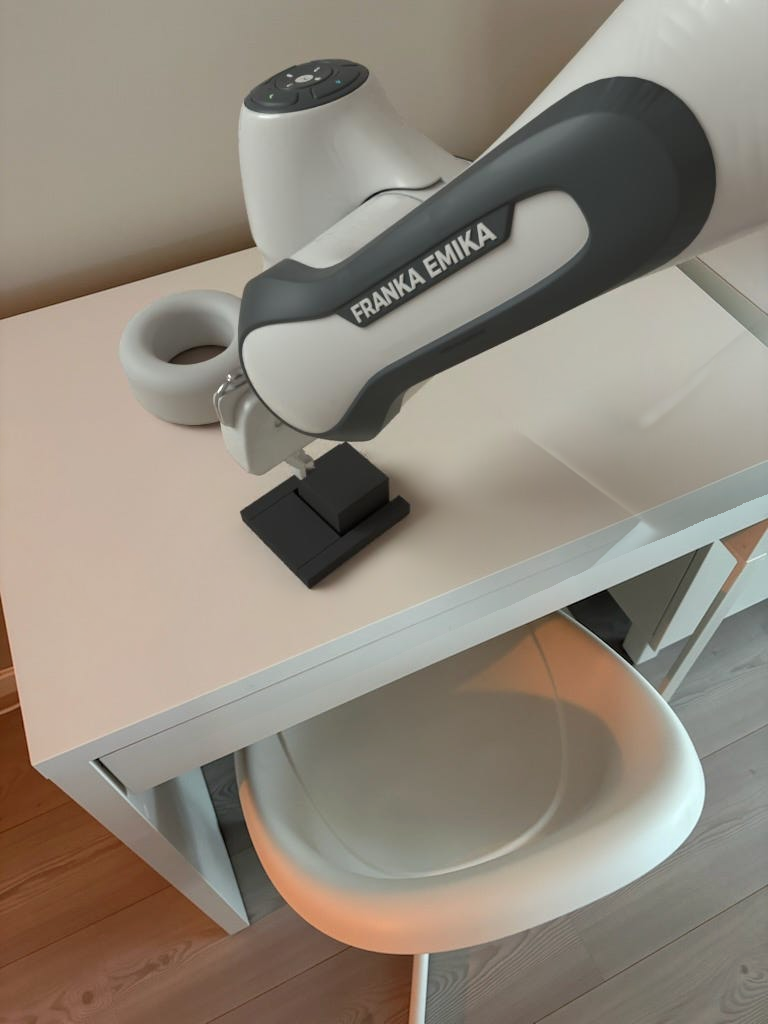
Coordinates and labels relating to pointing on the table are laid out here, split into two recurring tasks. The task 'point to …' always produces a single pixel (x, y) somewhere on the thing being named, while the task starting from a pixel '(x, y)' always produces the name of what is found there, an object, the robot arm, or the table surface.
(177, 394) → the thick torus
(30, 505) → the table surface
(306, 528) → the base pad
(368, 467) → the black block
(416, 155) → the robot arm
